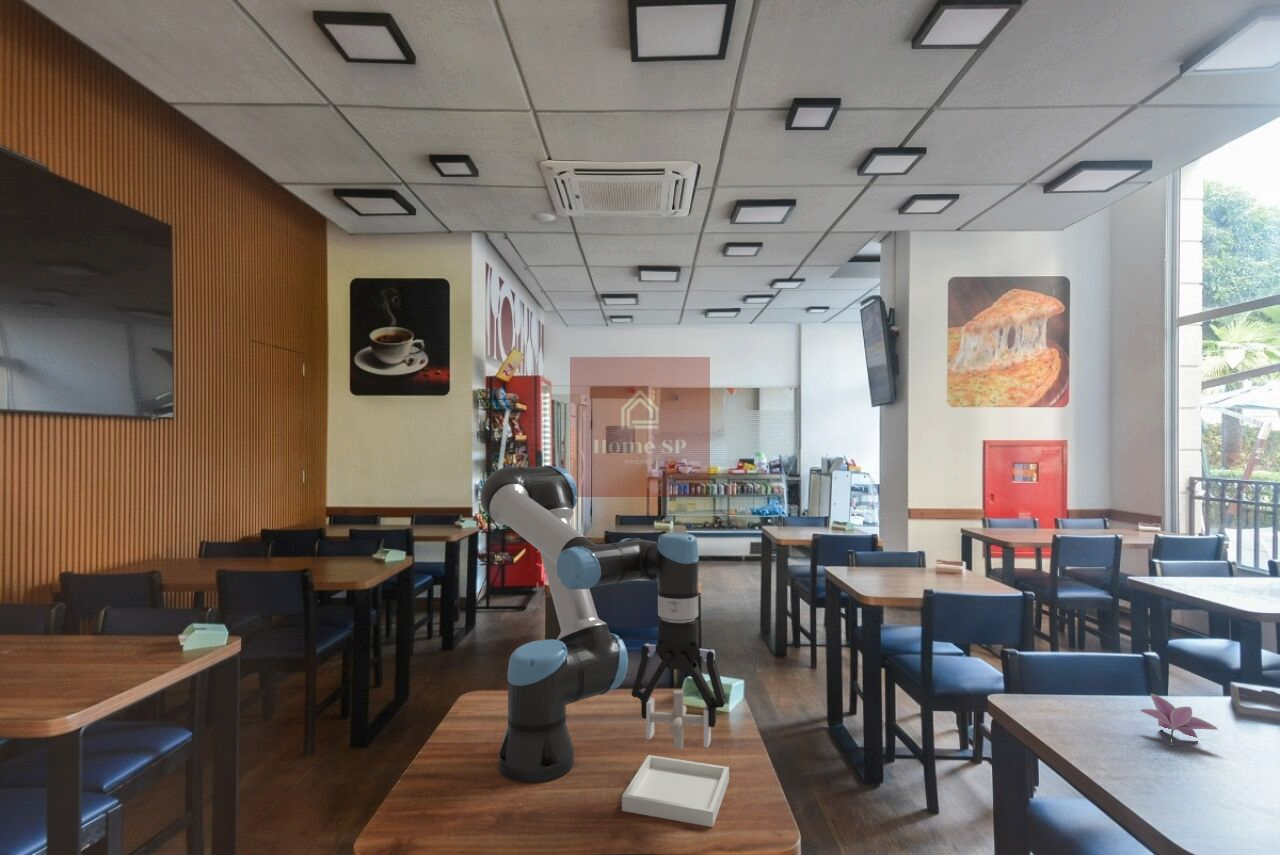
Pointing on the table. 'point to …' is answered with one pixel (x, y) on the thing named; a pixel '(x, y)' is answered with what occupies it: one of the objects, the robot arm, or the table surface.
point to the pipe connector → (677, 719)
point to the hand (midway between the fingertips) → (678, 739)
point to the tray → (677, 790)
